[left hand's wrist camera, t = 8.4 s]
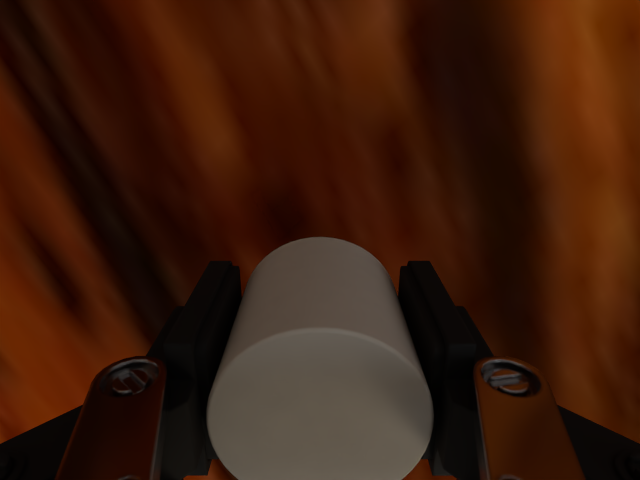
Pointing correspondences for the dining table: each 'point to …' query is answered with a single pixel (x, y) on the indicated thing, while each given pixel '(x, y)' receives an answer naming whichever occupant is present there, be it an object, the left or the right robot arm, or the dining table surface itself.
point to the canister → (320, 372)
